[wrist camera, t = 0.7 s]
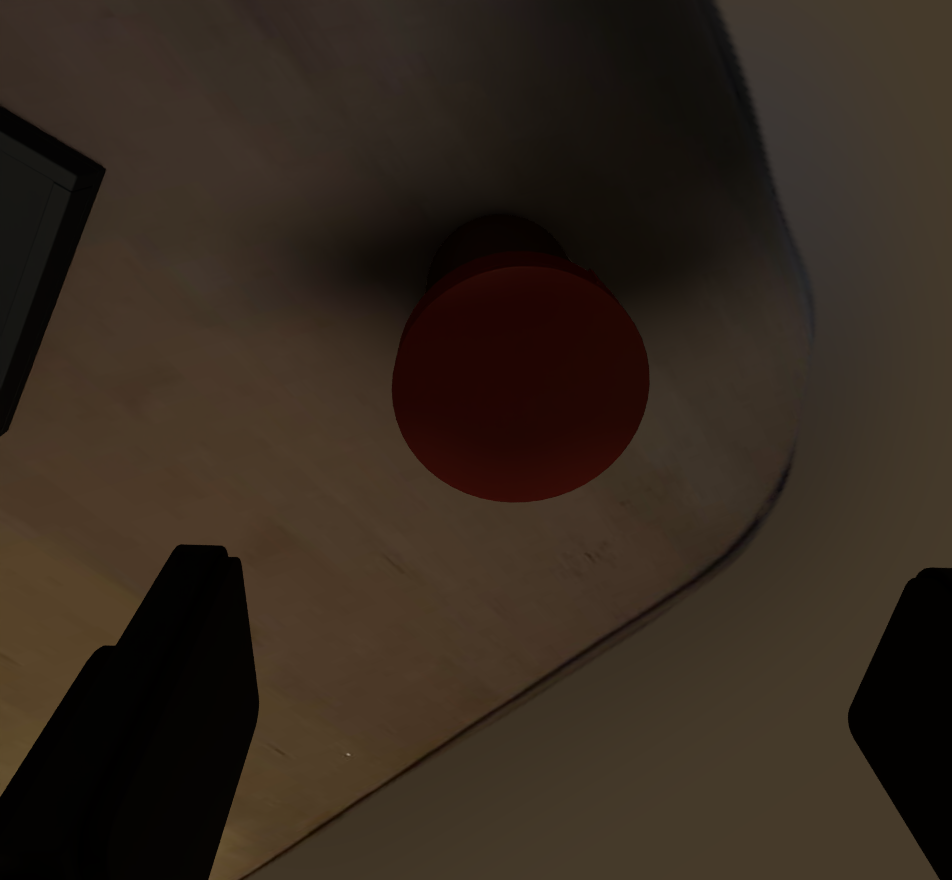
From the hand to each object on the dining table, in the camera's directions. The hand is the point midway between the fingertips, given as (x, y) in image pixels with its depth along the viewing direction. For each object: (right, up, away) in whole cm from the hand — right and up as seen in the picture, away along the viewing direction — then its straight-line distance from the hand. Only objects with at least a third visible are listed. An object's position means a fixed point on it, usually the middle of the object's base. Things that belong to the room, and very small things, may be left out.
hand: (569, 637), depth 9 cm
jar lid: (0, +4, +8) cm, 9 cm away
